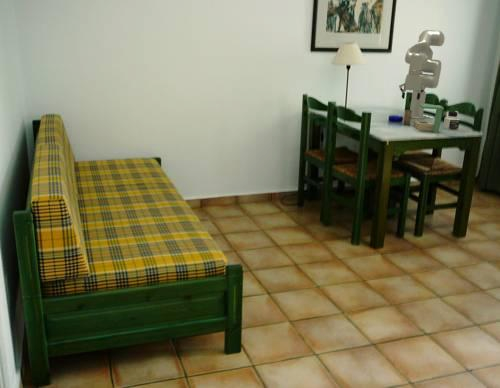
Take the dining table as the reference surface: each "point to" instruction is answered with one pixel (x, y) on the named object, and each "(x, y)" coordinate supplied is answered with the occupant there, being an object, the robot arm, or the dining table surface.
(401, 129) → the dining table surface
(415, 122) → the tan shallow oval bowl
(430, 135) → the dining table surface
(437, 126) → the pale green arch
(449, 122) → the medicine bottle
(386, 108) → the dining table surface
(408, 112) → the peg
